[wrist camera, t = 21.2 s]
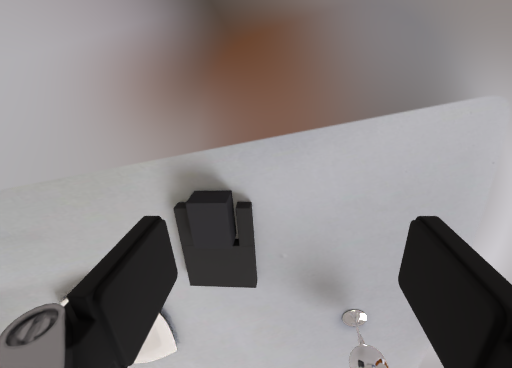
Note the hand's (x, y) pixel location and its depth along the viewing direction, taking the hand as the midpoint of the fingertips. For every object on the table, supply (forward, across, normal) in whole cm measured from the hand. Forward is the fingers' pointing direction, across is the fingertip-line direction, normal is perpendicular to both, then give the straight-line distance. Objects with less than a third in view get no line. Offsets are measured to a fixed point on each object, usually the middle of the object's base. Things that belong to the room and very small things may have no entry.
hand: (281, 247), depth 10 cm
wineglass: (+26, -13, +37) cm, 47 cm away
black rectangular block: (+26, +11, +14) cm, 32 cm away
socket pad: (+26, +11, +20) cm, 35 cm away
